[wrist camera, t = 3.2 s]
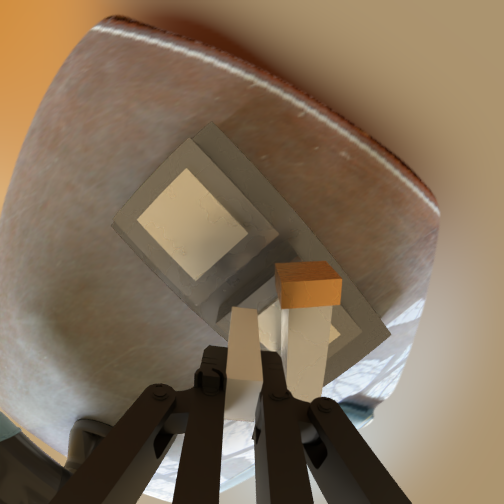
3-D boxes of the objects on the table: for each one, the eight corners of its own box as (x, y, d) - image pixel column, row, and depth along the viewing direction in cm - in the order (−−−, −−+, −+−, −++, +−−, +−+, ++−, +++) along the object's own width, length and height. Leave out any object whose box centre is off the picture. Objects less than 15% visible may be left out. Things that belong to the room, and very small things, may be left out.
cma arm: (311, 435, 21) (317, 460, 18) (269, 439, 21) (271, 465, 18) (331, 260, 17) (349, 277, 14) (268, 263, 17) (273, 282, 14)
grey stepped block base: (287, 390, 30) (296, 440, 22) (115, 231, 24) (70, 252, 17) (379, 321, 28) (413, 361, 20) (215, 127, 22) (202, 104, 15)
